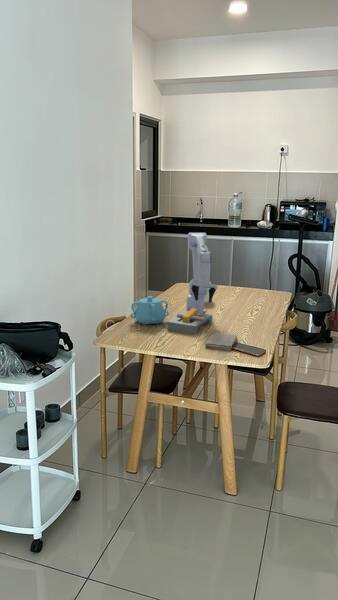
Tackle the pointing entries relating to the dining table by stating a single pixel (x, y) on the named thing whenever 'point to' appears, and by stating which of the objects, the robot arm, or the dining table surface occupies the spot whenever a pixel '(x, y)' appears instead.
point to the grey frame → (188, 327)
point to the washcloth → (221, 341)
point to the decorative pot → (149, 311)
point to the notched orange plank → (190, 315)
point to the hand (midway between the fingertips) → (203, 301)
